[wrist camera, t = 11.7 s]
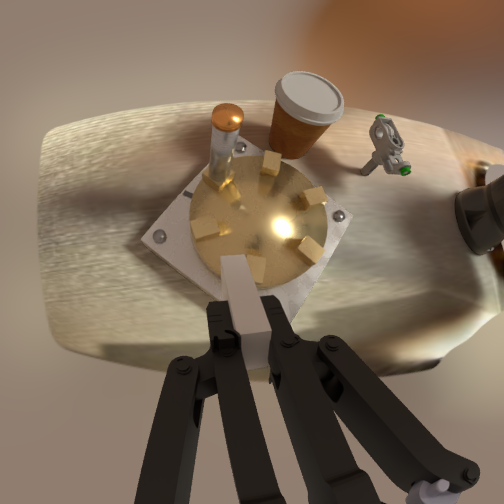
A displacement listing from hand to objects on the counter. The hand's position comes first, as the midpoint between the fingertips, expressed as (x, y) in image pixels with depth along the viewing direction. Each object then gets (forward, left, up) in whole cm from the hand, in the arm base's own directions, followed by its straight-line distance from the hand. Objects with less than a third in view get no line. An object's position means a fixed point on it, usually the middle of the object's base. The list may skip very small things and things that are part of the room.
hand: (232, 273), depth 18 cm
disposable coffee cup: (+6, -26, -17) cm, 31 cm away
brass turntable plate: (+2, -10, -14) cm, 17 cm away
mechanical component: (-7, -31, -17) cm, 36 cm away
